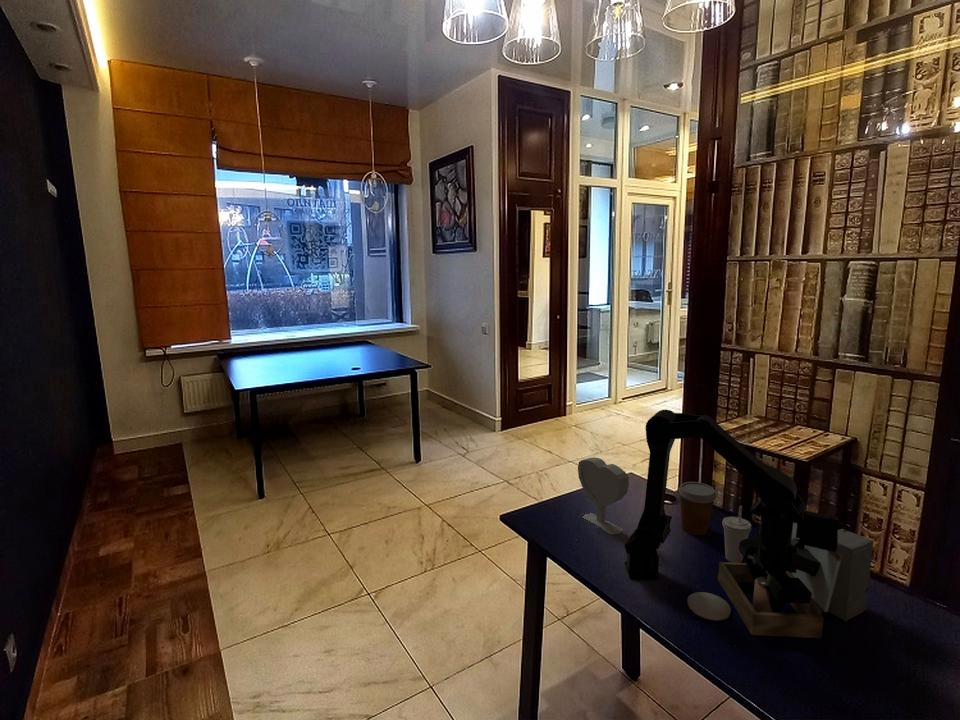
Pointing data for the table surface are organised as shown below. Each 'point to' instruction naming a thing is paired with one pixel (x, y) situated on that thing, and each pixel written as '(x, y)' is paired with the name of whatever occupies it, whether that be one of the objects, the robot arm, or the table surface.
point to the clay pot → (762, 595)
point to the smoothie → (735, 536)
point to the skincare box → (851, 575)
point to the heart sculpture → (602, 489)
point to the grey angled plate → (820, 574)
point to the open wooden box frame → (769, 623)
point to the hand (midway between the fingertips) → (768, 605)
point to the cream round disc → (709, 606)
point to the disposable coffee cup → (696, 506)
